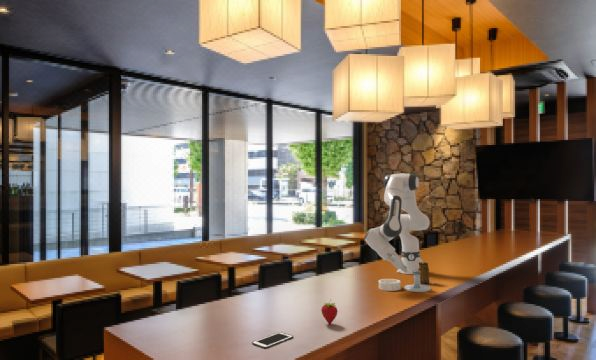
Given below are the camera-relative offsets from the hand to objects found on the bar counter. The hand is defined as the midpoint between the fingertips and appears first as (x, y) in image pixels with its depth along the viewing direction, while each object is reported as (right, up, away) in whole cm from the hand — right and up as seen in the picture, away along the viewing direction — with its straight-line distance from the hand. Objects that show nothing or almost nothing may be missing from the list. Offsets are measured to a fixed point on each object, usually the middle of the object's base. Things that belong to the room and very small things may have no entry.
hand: (406, 270), depth 222 cm
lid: (+6, -10, -2) cm, 12 cm away
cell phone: (-70, -9, -75) cm, 103 cm away
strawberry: (-47, -9, -57) cm, 75 cm away
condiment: (+14, -10, +12) cm, 21 cm away
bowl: (-9, -10, +2) cm, 14 cm away
